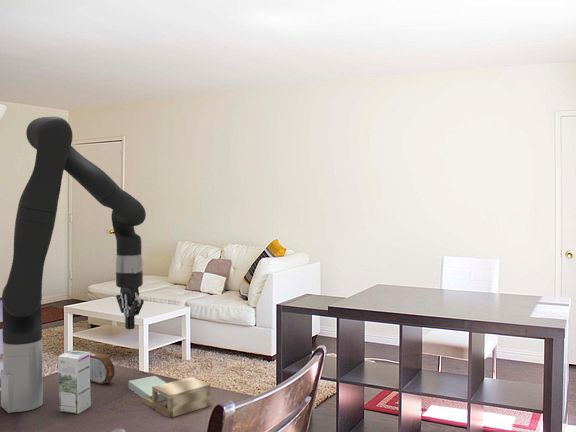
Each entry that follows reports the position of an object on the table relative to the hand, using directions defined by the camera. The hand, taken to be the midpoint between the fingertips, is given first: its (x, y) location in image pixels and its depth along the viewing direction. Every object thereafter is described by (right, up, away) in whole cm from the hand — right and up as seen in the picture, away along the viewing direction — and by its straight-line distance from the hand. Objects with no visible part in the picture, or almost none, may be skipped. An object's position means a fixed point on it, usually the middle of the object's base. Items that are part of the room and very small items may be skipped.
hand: (130, 328), depth 169 cm
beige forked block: (+17, -16, -18) cm, 30 cm away
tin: (-11, -16, 0) cm, 19 cm away
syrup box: (-8, -17, -22) cm, 28 cm away
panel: (+9, -16, -9) cm, 21 cm away
